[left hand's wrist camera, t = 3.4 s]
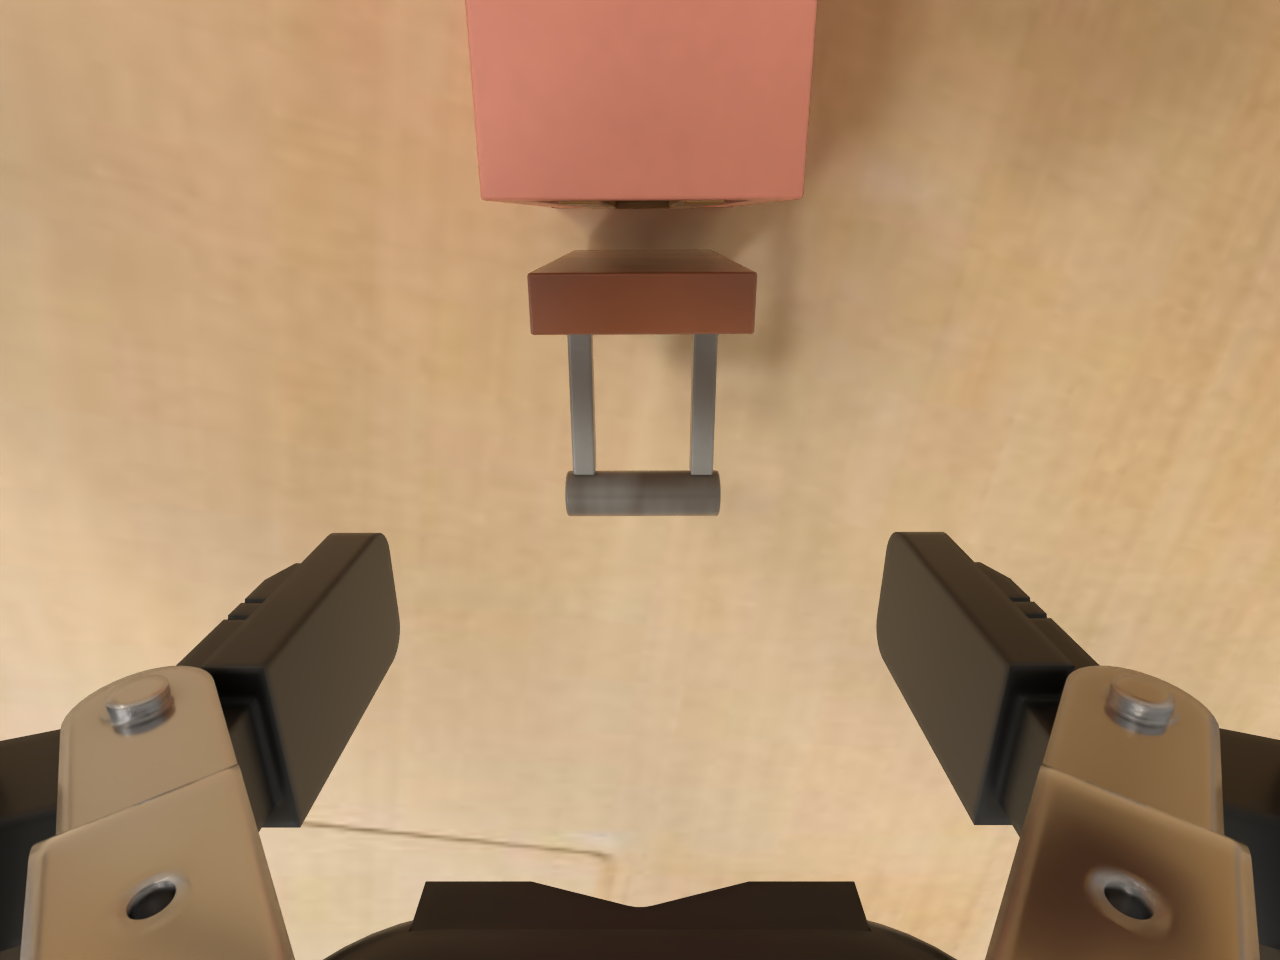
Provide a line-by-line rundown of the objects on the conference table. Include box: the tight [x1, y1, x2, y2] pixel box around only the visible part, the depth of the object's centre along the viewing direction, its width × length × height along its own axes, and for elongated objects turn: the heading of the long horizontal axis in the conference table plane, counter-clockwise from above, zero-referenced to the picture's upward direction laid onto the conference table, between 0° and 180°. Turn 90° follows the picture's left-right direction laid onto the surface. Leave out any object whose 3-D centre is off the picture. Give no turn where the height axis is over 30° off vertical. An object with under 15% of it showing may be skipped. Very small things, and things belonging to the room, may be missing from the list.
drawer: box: [527, 200, 757, 516], centre depth 16 cm, size 22×4×10 cm, turn 0°
